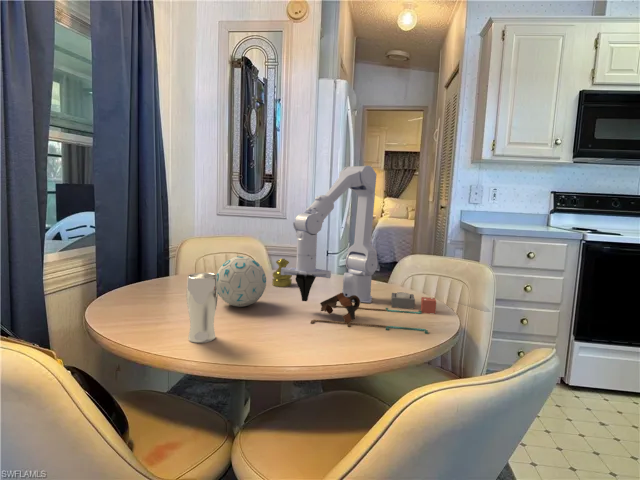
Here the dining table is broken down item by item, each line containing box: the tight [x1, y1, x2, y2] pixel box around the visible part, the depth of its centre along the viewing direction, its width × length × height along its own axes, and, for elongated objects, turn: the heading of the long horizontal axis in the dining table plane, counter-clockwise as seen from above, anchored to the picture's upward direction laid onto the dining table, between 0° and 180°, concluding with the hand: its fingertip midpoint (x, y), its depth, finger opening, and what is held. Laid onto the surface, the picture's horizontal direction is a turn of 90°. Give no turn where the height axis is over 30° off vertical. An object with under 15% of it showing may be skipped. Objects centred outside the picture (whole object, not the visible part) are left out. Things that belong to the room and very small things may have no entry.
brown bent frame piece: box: [319, 292, 361, 323], centre depth 116 cm, size 12×9×8 cm
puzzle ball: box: [216, 255, 267, 308], centre depth 123 cm, size 15×15×15 cm
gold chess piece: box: [271, 258, 293, 288], centre depth 153 cm, size 7×7×10 cm
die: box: [420, 296, 437, 315], centre depth 125 cm, size 4×4×4 cm
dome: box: [395, 291, 411, 298], centre depth 131 cm, size 4×4×3 cm
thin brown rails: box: [310, 304, 429, 335], centre depth 117 cm, size 31×21×1 cm
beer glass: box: [185, 272, 219, 344], centre depth 95 cm, size 7×7×15 cm
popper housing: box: [390, 292, 416, 310], centre depth 131 cm, size 7×7×3 cm
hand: (304, 300), depth 120 cm, fingers closed
